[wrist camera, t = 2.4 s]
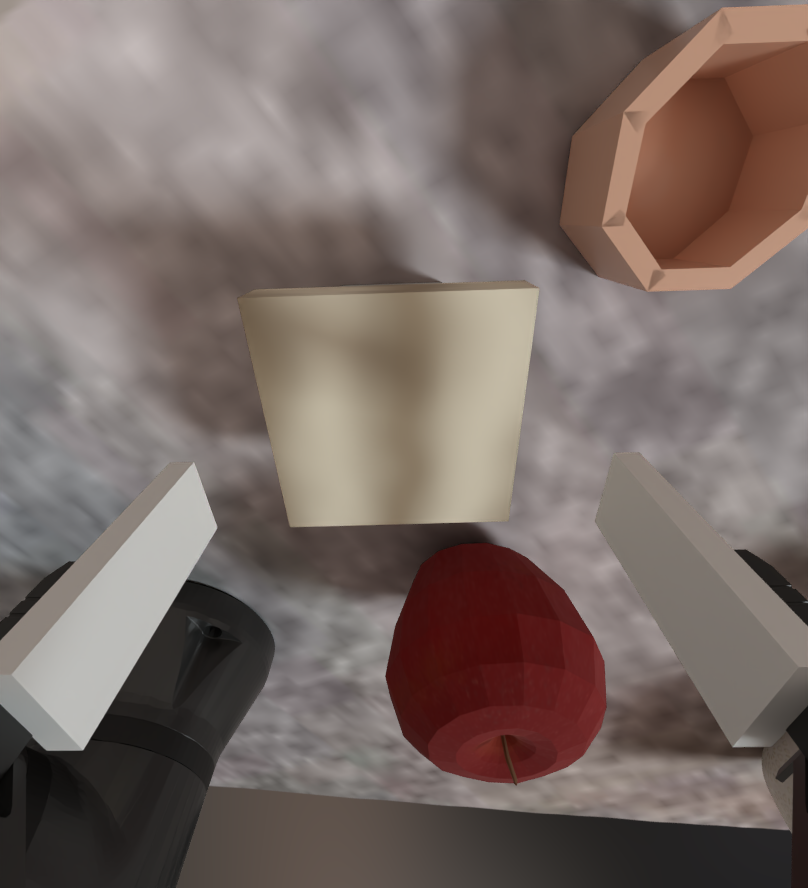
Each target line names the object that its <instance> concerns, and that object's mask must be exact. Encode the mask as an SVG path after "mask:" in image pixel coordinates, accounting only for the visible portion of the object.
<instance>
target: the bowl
mask: <svg viewBox="0 0 808 888" xmlns="http://www.w3.org/2000/svg"><path fill="white" fill-rule="evenodd" d="M559 225H560V226H561V228H562V229H563V230H564V232H565V233H566V234H567V236H568V237H569V238H570V240H571V241H572V242H573V244H574V245H575V246H576V248H577V249H578V250H579V252H580V253H581V254H582V256H583V257H584V258H585V260H586V261H587V262H588V263H589V265H590V266H591V267H592V269H593V270H594V271H595V273H596V274H597V275H598V277H601V278H604V279H607V280H611V281H614V282H617V283H621V284H624V285H627V286H631V287H634V288H637V289H641V290H644V291H647V292H648V291H678V290H708V289H731V288H732V287H734V286H735V285H736V284H737V283H739V282H740V281H741V280H743V279H744V278H745V277H746V276H748V275H749V274H750V273H751V272H753V271H754V270H755V269H757V268H758V267H759V266H760V265H762V264H763V263H764V262H765V261H767V260H768V259H769V258H771V257H772V256H773V255H774V254H776V253H777V252H778V251H779V250H781V249H782V248H783V247H784V246H786V245H787V244H788V243H790V242H791V241H792V240H793V239H795V238H796V237H797V236H798V235H800V234H801V233H802V232H804V231H805V230H806V229H807V228H808V4H805V5H780V6H754V7H729V8H721V9H720V10H718V11H716V12H715V13H713V14H712V15H710V16H709V17H707V18H706V19H704V20H703V21H701V22H700V23H698V24H697V25H695V26H693V27H692V28H690V29H689V30H687V31H686V32H684V33H683V34H681V35H680V36H678V37H677V38H675V39H674V40H672V41H670V42H669V43H667V44H666V45H664V46H663V47H661V48H660V49H658V50H657V51H655V52H654V53H652V54H651V55H649V56H647V57H646V58H644V59H643V60H642V61H641V62H640V63H639V64H638V65H637V66H636V67H635V68H634V69H633V70H632V72H631V73H630V74H629V75H628V76H627V77H626V78H625V79H624V80H623V81H622V82H621V84H620V85H619V86H618V87H617V88H616V89H615V90H614V91H613V92H612V93H611V94H610V96H609V97H608V98H607V99H606V100H605V101H604V102H603V103H602V104H601V105H600V106H599V108H598V109H597V110H596V111H595V112H594V113H593V114H592V115H591V116H590V117H589V118H588V120H587V121H586V122H585V123H584V124H583V125H582V126H581V127H580V128H579V129H578V130H577V132H576V133H575V134H574V135H573V136H572V141H571V148H570V155H569V162H568V169H567V176H566V182H565V189H564V196H563V203H562V210H561V217H560V224H559Z"/></svg>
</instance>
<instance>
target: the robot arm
mask: <svg viewBox="0 0 808 888" xmlns="http://www.w3.org/2000/svg"><path fill="white" fill-rule="evenodd" d="M595 522H596V524H597V526H598V527H599V529H600V530H601V532H602V534H603V535H604V537H605V539H606V540H607V542H608V544H609V545H610V547H611V549H612V550H613V552H614V553H615V555H616V557H617V558H618V560H619V562H620V563H621V565H622V567H623V568H624V570H625V572H626V573H627V575H628V576H629V578H630V580H631V581H632V583H633V585H634V586H635V588H636V590H637V591H638V593H639V595H640V596H641V598H642V599H643V601H644V603H645V604H646V606H647V608H648V609H649V611H650V613H651V614H652V616H653V618H654V619H655V621H656V622H657V624H658V626H659V627H660V629H661V631H662V632H663V634H664V636H665V637H666V639H667V641H668V642H669V644H670V645H671V647H672V649H673V650H674V652H675V654H676V655H677V657H678V659H679V660H680V662H681V664H682V665H683V667H684V668H685V670H686V672H687V673H688V675H689V677H690V678H691V680H692V682H693V683H694V685H695V687H696V688H697V690H698V691H699V693H700V695H701V696H702V698H703V700H704V701H705V703H706V705H707V706H708V708H709V710H710V711H711V713H712V714H713V716H714V718H715V719H716V721H717V723H718V724H719V726H720V728H721V729H722V731H723V732H724V734H725V736H726V737H727V739H728V741H729V742H730V744H731V746H732V747H772V746H773V745H774V744H775V743H776V742H777V741H778V740H779V739H780V738H781V737H782V735H783V734H784V733H785V732H786V731H787V733H788V734H789V735H790V737H791V738H792V739H793V741H794V742H795V744H796V745H797V746H798V748H799V750H798V751H797V752H796V753H795V754H794V755H793V756H792V757H791V758H790V759H789V760H788V761H787V762H786V763H785V764H784V765H783V766H782V767H781V768H780V769H779V770H778V772H777V775H776V778H775V779H777V780H779V781H780V782H782V783H783V782H784V781H785V780H786V779H787V778H788V777H790V776H791V775H792V774H793V811H792V878H791V888H808V601H807V600H806V599H805V598H804V597H803V596H802V595H801V594H800V593H799V592H798V591H797V590H796V589H792V587H791V586H792V585H791V584H790V583H789V582H788V581H787V580H786V579H785V578H784V577H783V576H782V575H781V574H780V573H778V572H777V571H776V570H775V569H774V568H773V567H772V566H771V565H769V564H768V563H766V562H765V561H763V560H762V559H760V558H758V557H757V556H755V555H754V554H752V553H751V552H749V551H747V550H733V549H732V548H731V547H730V546H729V545H728V544H727V543H726V542H725V540H724V539H723V538H722V537H721V536H720V535H719V534H718V533H717V532H716V531H715V530H714V529H713V528H712V527H711V526H710V525H709V524H708V523H707V522H706V521H705V520H704V519H703V518H702V517H701V516H700V515H699V514H698V513H697V512H696V511H695V510H694V509H693V507H692V506H691V505H690V504H689V503H688V502H687V501H686V500H685V499H684V498H683V497H682V496H681V495H680V494H679V493H678V492H677V491H676V490H675V489H674V488H673V487H672V486H671V485H670V484H669V483H668V482H667V481H666V480H665V479H664V478H663V477H662V476H661V474H660V473H659V472H658V471H657V470H656V469H655V468H654V467H653V466H652V465H651V464H650V463H649V462H648V461H647V460H646V459H645V458H644V457H643V456H642V455H641V454H640V453H639V452H638V453H614V455H613V458H612V462H611V466H610V469H609V473H608V476H607V480H606V483H605V487H604V490H603V494H602V498H601V501H600V505H599V508H598V512H597V515H596V519H595ZM216 530H217V525H216V522H215V519H214V517H213V514H212V511H211V508H210V505H209V503H208V500H207V497H206V494H205V491H204V489H203V486H202V483H201V480H200V477H199V475H198V472H197V469H196V466H195V463H194V462H174V463H169V464H168V465H167V466H166V467H165V468H164V470H163V471H162V472H161V473H160V474H159V475H158V476H157V477H156V478H155V479H154V480H153V481H152V482H151V483H150V484H149V485H148V486H147V487H146V488H145V489H144V490H143V492H142V493H141V494H140V495H139V496H138V497H137V498H136V499H135V500H134V501H133V502H132V503H131V504H130V505H129V506H128V507H127V508H126V509H125V510H124V511H123V512H122V514H121V515H120V516H119V517H118V518H117V519H116V520H115V521H114V522H113V523H112V524H111V525H110V526H109V527H108V528H107V529H106V530H105V531H104V532H103V533H102V535H101V536H100V537H99V538H98V539H97V540H96V541H95V542H94V543H93V544H92V545H91V546H90V547H89V548H88V549H87V550H86V551H85V552H84V553H83V554H82V555H81V557H80V558H79V559H78V560H77V561H76V562H68V563H66V564H65V565H63V566H62V567H60V568H59V569H57V570H56V571H54V572H53V573H51V574H50V575H48V576H47V577H45V578H44V579H43V580H42V581H41V582H40V583H39V584H38V585H37V586H36V587H35V588H34V589H33V590H32V591H31V592H30V593H29V594H28V595H27V596H26V600H25V601H21V602H20V603H19V604H18V605H17V606H16V607H15V608H14V609H13V610H12V611H11V612H10V616H9V617H5V618H4V619H3V620H2V621H1V622H0V888H176V885H177V882H178V879H179V876H180V873H181V870H182V867H183V864H184V861H185V858H186V854H187V851H188V849H189V845H190V842H191V839H192V836H193V833H194V830H195V827H196V824H197V821H198V818H199V815H200V811H201V808H202V805H203V802H204V799H205V796H206V792H207V790H208V787H209V784H210V781H211V778H212V775H213V772H214V769H215V766H216V764H217V761H218V759H219V757H220V754H221V753H222V751H223V750H224V748H225V746H226V745H227V743H228V742H229V740H230V739H231V737H232V735H233V734H234V732H235V731H236V729H237V728H238V726H239V725H240V723H241V721H242V720H243V718H244V717H245V715H246V714H247V712H248V711H249V709H250V707H251V706H252V704H253V703H254V701H255V700H256V698H257V696H258V695H259V693H260V692H261V690H262V688H263V687H264V685H265V682H266V680H267V678H268V674H269V671H270V667H271V664H272V660H273V657H274V652H275V645H274V640H273V637H272V634H271V632H270V630H269V628H268V627H267V625H266V624H265V623H264V621H263V620H262V619H261V618H260V617H259V616H258V615H257V614H256V613H255V612H254V611H252V610H251V609H250V608H249V607H247V606H246V605H244V604H243V603H241V602H240V601H238V600H236V599H235V598H233V597H231V596H229V595H227V594H224V593H222V592H220V591H217V590H215V589H212V588H209V587H206V586H202V585H198V584H194V583H190V582H185V581H186V579H187V578H188V576H189V574H190V573H191V571H192V569H193V568H194V566H195V564H196V563H197V561H198V559H199V558H200V556H201V554H202V553H203V551H204V550H205V548H206V546H207V545H208V543H209V541H210V540H211V538H212V536H213V535H214V533H215V531H216Z"/></svg>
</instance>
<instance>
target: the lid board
mask: <svg viewBox="0 0 808 888" xmlns="http://www.w3.org/2000/svg"><path fill="white" fill-rule="evenodd" d="M538 295H539V288H538V287H536V286H534V285H532V284H530V283H528V282H527V281H525V280H522V281H492V282H463V283H433V284H403V285H373V286H343V287H314V288H284V289H255V290H253V291H251V292H249V293H247V294H245V295H243V296H241V297H238V298H237V300H238V304H239V309H240V313H241V317H242V322H243V326H244V330H245V335H246V339H247V343H248V348H249V352H250V356H251V361H252V365H253V369H254V374H255V378H256V382H257V387H258V391H259V395H260V400H261V404H262V408H263V413H264V417H265V421H266V426H267V430H268V434H269V439H270V443H271V447H272V452H273V456H274V460H275V465H276V469H277V473H278V478H279V482H280V486H281V491H282V495H283V499H284V504H285V508H286V512H287V517H288V521H289V525H290V527H318V526H354V525H390V524H426V523H462V522H497V521H508V520H509V513H510V505H511V498H512V490H513V483H514V475H515V468H516V460H517V453H518V445H519V438H520V430H521V423H522V415H523V408H524V400H525V393H526V385H527V378H528V370H529V363H530V355H531V348H532V340H533V333H534V325H535V318H536V310H537V303H538Z"/></svg>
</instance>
